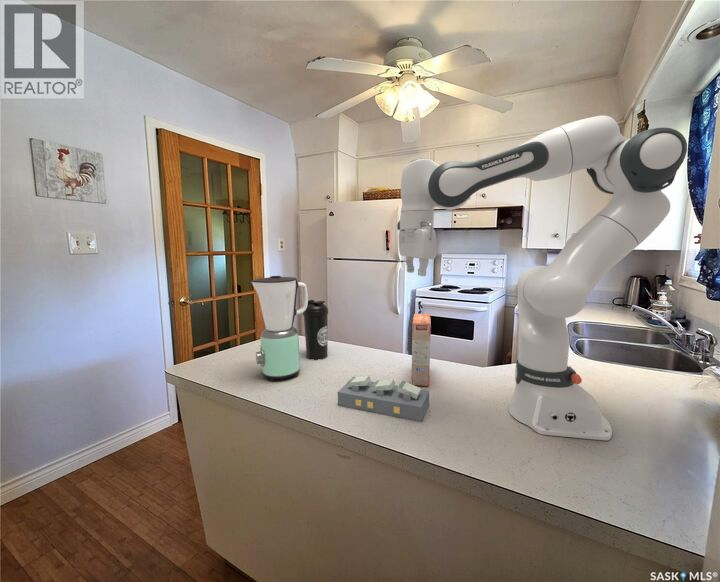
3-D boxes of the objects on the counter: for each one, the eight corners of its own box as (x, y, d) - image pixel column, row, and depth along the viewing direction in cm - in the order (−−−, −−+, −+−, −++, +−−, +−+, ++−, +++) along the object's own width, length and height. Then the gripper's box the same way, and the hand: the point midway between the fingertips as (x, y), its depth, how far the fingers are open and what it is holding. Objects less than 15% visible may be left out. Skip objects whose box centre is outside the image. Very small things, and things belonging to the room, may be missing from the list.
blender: (260, 386, 106) (253, 279, 101) (254, 372, 118) (247, 276, 113) (316, 375, 115) (312, 276, 109) (304, 362, 126) (300, 272, 121)
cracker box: (430, 387, 104) (431, 323, 101) (410, 386, 105) (411, 322, 102) (429, 370, 117) (430, 313, 114) (412, 369, 118) (413, 312, 115)
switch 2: (395, 383, 93) (393, 378, 93) (390, 389, 90) (389, 384, 90) (377, 385, 96) (375, 380, 95) (372, 391, 92) (371, 386, 92)
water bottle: (318, 362, 127) (316, 304, 123) (299, 357, 132) (296, 301, 129) (334, 354, 135) (333, 299, 131) (315, 350, 140) (313, 297, 137)
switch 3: (419, 392, 91) (421, 387, 90) (416, 399, 87) (418, 394, 87) (401, 384, 93) (402, 380, 92) (396, 390, 89) (398, 385, 89)
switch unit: (428, 403, 93) (429, 384, 92) (421, 422, 84) (421, 401, 83) (352, 390, 103) (351, 372, 102) (337, 405, 93) (336, 386, 92)
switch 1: (370, 379, 96) (369, 374, 96) (365, 385, 92) (364, 380, 92) (353, 381, 98) (352, 376, 98) (348, 387, 95) (346, 382, 95)
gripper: (444, 220, 79) (442, 277, 81) (415, 224, 99) (414, 270, 101) (418, 220, 78) (417, 278, 80) (395, 224, 97) (394, 270, 100)
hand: (415, 274), depth 90 cm, fingers open, 8 cm apart
